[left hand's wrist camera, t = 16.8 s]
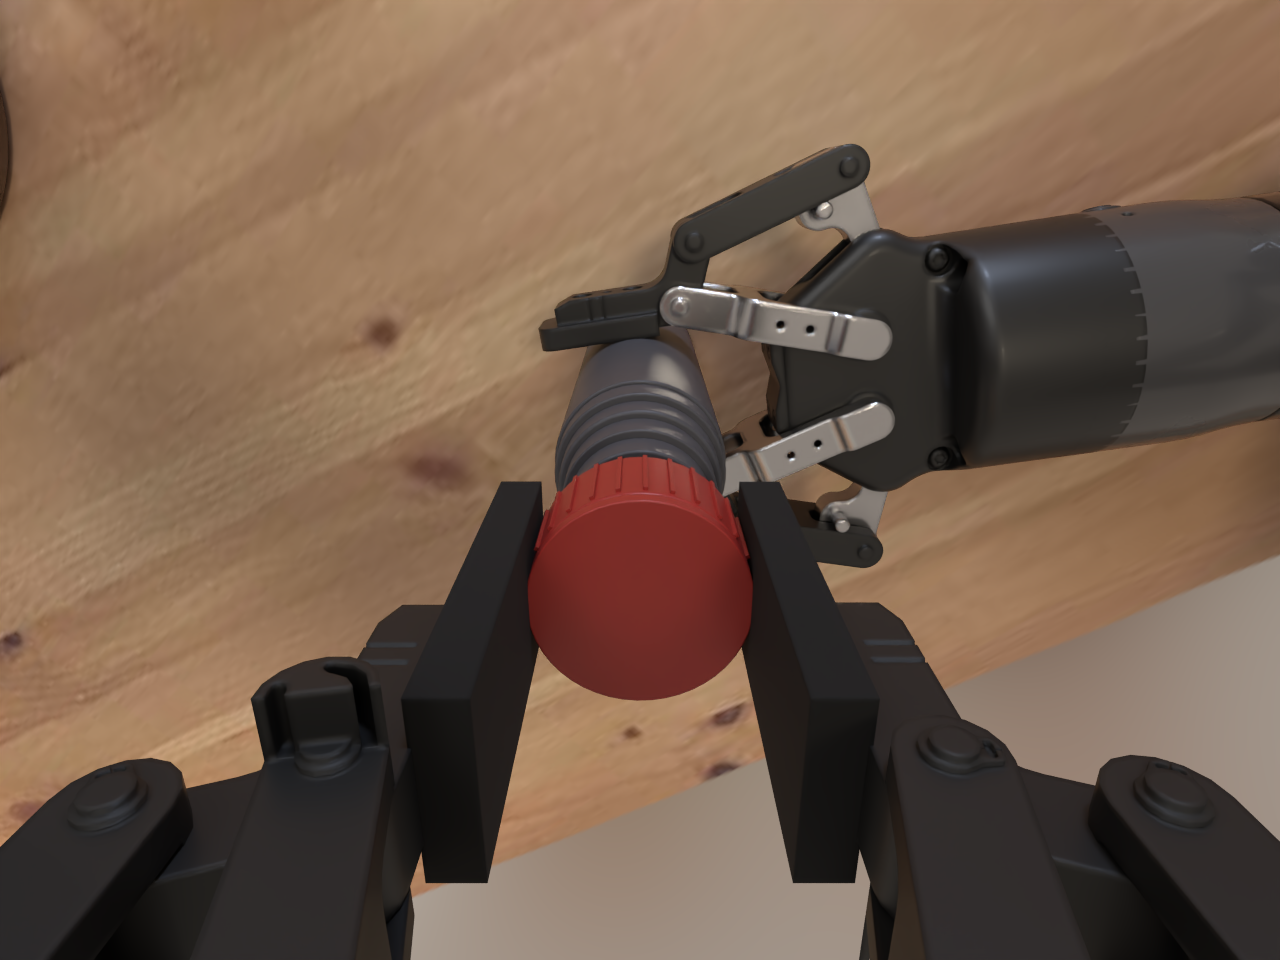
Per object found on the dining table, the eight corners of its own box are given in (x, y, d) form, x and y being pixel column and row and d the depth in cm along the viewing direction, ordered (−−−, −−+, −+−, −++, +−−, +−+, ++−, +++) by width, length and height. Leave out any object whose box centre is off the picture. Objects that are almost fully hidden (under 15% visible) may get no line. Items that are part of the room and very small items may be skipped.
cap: (703, 422, 14) (714, 462, 12) (769, 600, 15) (788, 664, 13) (504, 494, 14) (483, 544, 12) (584, 661, 16) (576, 730, 14)
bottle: (627, 423, 33) (610, 729, 14) (567, 340, 31) (465, 560, 13) (712, 367, 32) (810, 617, 13) (654, 279, 30) (675, 424, 12)
